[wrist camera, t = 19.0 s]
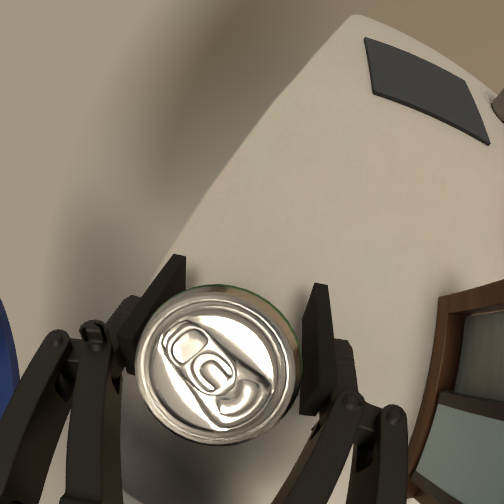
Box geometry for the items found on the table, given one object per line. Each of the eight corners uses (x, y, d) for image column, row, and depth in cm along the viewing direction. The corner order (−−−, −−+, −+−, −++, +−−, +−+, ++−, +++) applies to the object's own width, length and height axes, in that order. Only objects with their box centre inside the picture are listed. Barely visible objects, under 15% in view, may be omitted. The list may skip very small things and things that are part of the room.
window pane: (410, 480, 13) (501, 545, 1) (439, 390, 15) (569, 411, 3) (419, 478, 13) (511, 538, 1) (448, 390, 15) (574, 407, 3)
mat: (372, 93, 25) (374, 90, 24) (363, 39, 28) (364, 36, 28) (488, 146, 24) (490, 143, 23) (463, 82, 27) (464, 80, 27)
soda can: (234, 396, 17) (210, 485, 6) (184, 342, 18) (91, 356, 7) (289, 347, 18) (348, 374, 7) (238, 294, 19) (217, 238, 8)
